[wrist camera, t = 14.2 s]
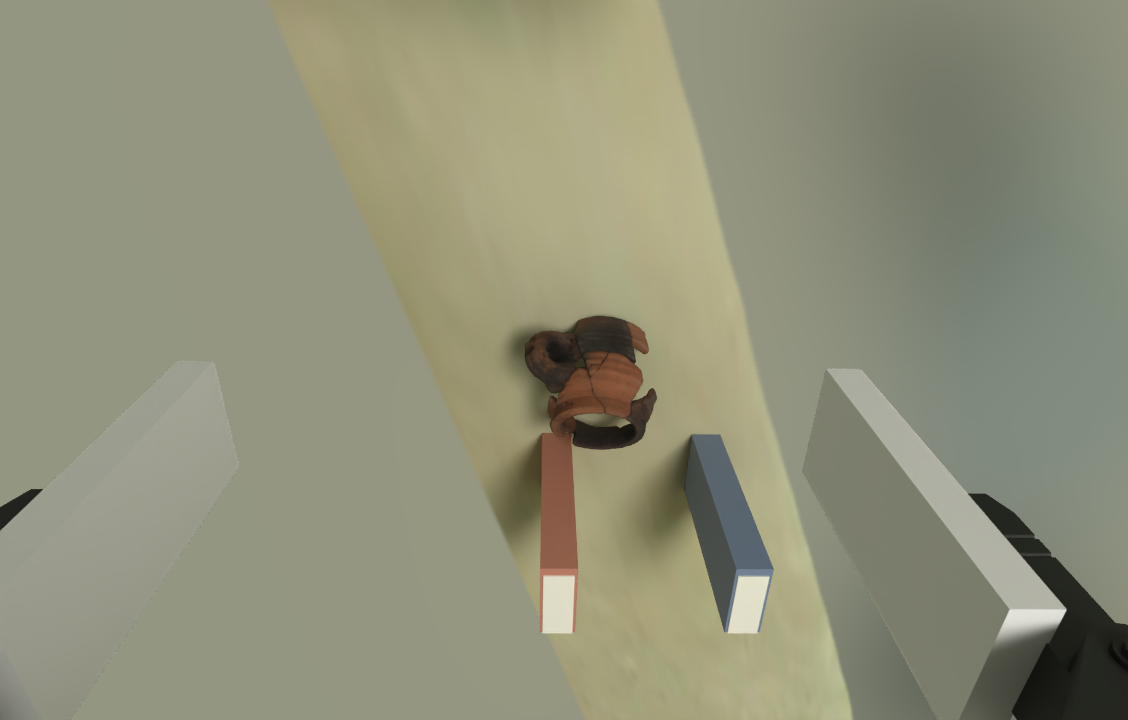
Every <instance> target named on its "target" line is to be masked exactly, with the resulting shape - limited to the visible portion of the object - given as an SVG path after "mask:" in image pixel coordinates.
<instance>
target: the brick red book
mask: <svg viewBox="0 0 1128 720" xmlns="http://www.w3.org/2000/svg"><path fill="white" fill-rule="evenodd" d="M577 581H578V558H577V540H576V521H575V502H574V484H573V465H572V446H571V433H565V436H564V437H560V438H559V437H557V436H556V435H555V434H554V433H542V480H541V555H540V632H542V633H572V632H575V624H576V602H577Z"/></svg>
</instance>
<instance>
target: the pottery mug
mask: <svg viewBox="0 0 1128 720" xmlns="http://www.w3.org/2000/svg"><path fill="white" fill-rule="evenodd" d="M633 348H636V349H637V350H639V351H640V352H642V353H643V354H647V353H648V351H649V348H648V344H647V340H646V338H645V333H644V332H643V331H642V330H641V329H640V328H639V327H637V326H636V325H634V324H632V323H630V322H626V321H625V320H621V319H617V318H614V317H604V316H596V317H592V318H586V319H582V320H580V321H579V322H578V324H577V328H576V329H575V332H574V334H571V333H569V332H566V333H560V332H556V331H543V332H540V333H538V334H535V335H534V336H533V337H532V338H531V340H530V341H529V342H528V343H526V345H525V361H526V364H527V367H528V368H529V370H530V371H531V373H532V374H533V375H534V376H535V377H537V378H539V379H540V380H541V381H543V382H544V383H545V384H546V387H547V389H548V390H549V391H550V392H551V393H558V392H559V395H558V399H556V398H555V397H554V396H550V398H549V402H548V412H549V415H550V418H551V419H552V420H551V422H550V427H551V430H552V432H553V433H554V434H555V435H556V436H557V437H559V438H560V437H564V436H565V432H566V431H568V432H570V433H573V434H574V438H573V444H574V445H575V446H578V447H582V448H588V449H599V450H600V449H601V450H605V449H612V448H613V449H616V448H623V447H625V446H630V445H632V444H634V443H637V442H638V441H639V440H641V439H642V437H643V436H644V433H645V428H646V423H647V422H648V420H649V419H650V416H651V414H652V411H653V407H654V403H655V402H656V399H657V396H656V392H655V390H654V389H653V388H651V389H650V390H649V391H648V393H647V395H646V396H644V397H643V398H641V399H638V400H634V401H632V399H633V398H634V397H635V396H636V393H637V392H638V390H639V389H640V386H641V385H642V383H643V378H642V372H641V370H640V369H639V368H638V367H637V366H636V365H635V362H636V360H635V354H634V349H633ZM547 351H548V352H549V356H548V354H547ZM580 357H583V359H584V361H585V366H586V367H578V368H576V364H575V363H576V362H577V361H578V359H580ZM587 413H605V414H609V415H614V416H617V417H621V418H623V419H626V420H627V421H629V422H630V423H632V424H628V425H625V426H623V427H621V428H619V427H617V426H611V427H594V426H591V425H588V424H586V423H583V422H580V421H578V420H575V419H574V417H573V416H575V415H580V414H587Z"/></svg>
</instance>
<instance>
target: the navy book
mask: <svg viewBox="0 0 1128 720" xmlns="http://www.w3.org/2000/svg"><path fill="white" fill-rule="evenodd" d="M684 490H685V493H686V497H687V500H688V504H689V508H690V511H691V515H692V518H693V522H694V525H695V529H696V532H697V536H698V540H699V543H700V547H701V550H702V554H703V557H704V561H705V565H706V568H707V572H708V575H709V579H710V582H711V586H712V589H713V593H714V597H715V600H716V604H717V607H718V611H719V614H720V618H721V622H722V625H723V629H724V632H727V633H757V632H760V627H761V623H762V618H763V614H764V610H765V605H766V601H767V596H768V592H769V588H770V583H771V579H772V574H773V570H774V569H773V566H772V564H771V561H770V559H769V556H768V554H767V551H766V549H765V546H764V544H763V541H762V539H761V536H760V534H759V531H758V529H757V526H756V524H755V521H754V519H753V516H752V514H751V511H750V509H749V506H748V504H747V501H746V499H745V496H744V494H743V491H742V489H741V486H740V484H739V481H738V479H737V476H736V474H735V471H734V469H733V466H732V464H731V461H730V459H729V456H728V454H727V451H726V449H725V446H724V444H723V441H722V439H721V436H720V435H692V436H691V443H690V451H689V458H688V466H687V473H686V481H685V488H684Z"/></svg>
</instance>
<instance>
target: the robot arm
mask: <svg viewBox="0 0 1128 720" xmlns="http://www.w3.org/2000/svg"><path fill="white" fill-rule="evenodd" d="M238 468H239V462H238V458H237V454H236V450H235V445H234V441H233V437H232V433H231V429H230V425H229V421H228V417H227V412H226V409H225V404H224V400H223V396H222V392H221V388H220V383H219V379H218V375H217V371H216V367H215V363H214V361H176V363H174V364H173V365H172V366H171V367H170V368H169V369H168V370H167V371H166V372H165V373H164V374H163V375H162V376H161V377H160V378H159V379H158V380H157V381H156V382H155V383H154V384H153V385H152V386H150V387H149V388H148V389H147V390H146V391H145V392H144V393H143V394H142V395H141V396H140V397H139V398H138V399H137V400H136V401H135V402H134V403H133V404H132V405H131V406H130V407H129V408H128V409H127V410H126V411H124V412H123V414H121V415H120V416H119V417H118V418H117V419H116V420H115V421H114V422H113V423H112V424H111V425H110V426H109V427H108V428H107V429H106V430H105V431H104V432H103V433H102V434H101V435H100V436H98V437H97V438H96V439H95V440H94V441H93V442H92V443H91V444H90V445H89V446H88V447H87V448H86V449H85V450H84V451H83V452H82V453H81V454H80V455H79V456H78V457H77V458H76V459H75V460H73V461H72V463H70V465H68V466H67V467H66V468H65V469H64V470H63V471H62V472H61V473H60V474H59V475H58V476H57V477H56V478H55V479H54V480H53V481H52V482H51V483H50V484H49V485H48V486H46V487H45V488H44V489H31V490H29V491H27V492H26V493H24V494H22V495H20V496H19V497H17V498H15V499H13V500H12V501H10V502H8V503H7V504H5V505H3V506H1V507H0V720H71V719H72V718H73V716H74V715H75V713H76V712H77V710H78V709H79V707H80V705H81V704H82V702H83V701H84V700H85V698H86V696H87V695H88V693H89V692H90V691H91V689H92V687H93V686H94V685H95V683H96V682H97V680H98V679H99V677H100V675H101V674H102V673H103V671H104V669H105V668H106V667H107V665H108V664H109V662H110V660H111V659H112V657H113V656H114V655H115V653H116V652H117V650H118V649H119V647H120V646H121V644H122V643H123V641H124V639H125V638H126V637H127V635H128V634H129V632H130V631H131V629H132V628H133V626H134V624H135V623H136V621H137V620H138V619H139V617H140V616H141V614H142V613H143V611H144V610H145V608H146V607H147V605H148V604H149V602H150V601H151V599H152V597H153V596H154V595H155V593H156V592H157V590H158V588H159V587H160V585H161V584H162V583H163V581H164V580H165V578H166V577H167V575H168V573H169V572H170V571H171V569H172V568H173V566H174V564H175V563H176V561H177V560H178V558H179V557H180V556H181V554H182V553H183V551H184V549H185V548H186V547H187V545H188V544H189V542H190V541H191V539H192V538H193V536H194V535H195V533H196V531H197V530H198V529H199V527H200V526H201V524H202V523H203V521H204V519H205V518H206V517H207V515H208V514H209V512H210V510H211V509H212V508H213V506H214V505H215V503H216V502H217V500H218V499H219V497H220V495H221V494H222V493H223V491H224V490H225V488H226V486H227V485H228V484H229V482H230V480H231V479H232V478H233V476H234V475H235V473H236V472H237V470H238ZM802 471H803V473H804V475H805V477H806V479H807V481H808V483H809V484H810V486H811V488H812V490H813V492H814V494H815V495H816V497H817V499H818V501H819V503H820V505H821V507H822V508H823V510H824V512H825V514H826V516H827V517H828V519H829V521H830V523H831V525H832V527H833V529H834V530H835V532H836V534H837V536H838V538H839V539H840V541H841V543H842V545H843V547H844V549H845V551H846V552H847V554H848V556H849V558H850V560H851V562H852V563H853V565H854V567H855V569H856V571H857V572H858V574H859V576H860V578H861V580H862V582H863V584H864V586H865V587H866V589H867V591H868V593H869V595H870V597H871V598H872V600H873V602H874V604H875V606H876V607H877V609H878V611H879V613H880V615H881V617H882V618H883V620H884V622H885V624H886V626H887V628H888V629H889V631H890V633H891V635H892V637H893V639H894V640H895V642H896V644H897V646H898V648H899V650H900V652H901V654H902V655H903V657H904V659H905V661H906V663H907V665H908V666H909V668H910V670H911V671H912V674H913V676H914V677H915V679H916V681H917V683H918V685H919V686H920V688H921V690H922V692H923V694H924V696H925V698H926V699H927V701H928V703H929V705H930V707H931V709H932V710H933V712H934V714H935V716H936V718H937V720H1010V719H1011V717H1012V715H1014V716H1015V718H1016V719H1017V720H1128V625H1126V624H1119V623H1115V622H1114V621H1113V620H1112V619H1111V618H1110V617H1109V616H1108V614H1107V613H1106V612H1105V611H1104V610H1103V609H1102V608H1101V607H1100V606H1099V605H1098V603H1096V601H1095V600H1094V599H1093V598H1092V597H1091V596H1090V595H1089V594H1088V593H1087V592H1086V590H1085V589H1084V588H1083V587H1082V586H1081V585H1080V584H1079V583H1078V582H1077V581H1076V579H1075V578H1074V577H1073V576H1072V575H1071V574H1070V573H1069V572H1068V571H1067V570H1066V569H1065V567H1064V566H1063V565H1062V564H1061V563H1060V562H1059V561H1058V560H1057V559H1056V558H1052V557H1051V552H1050V551H1049V550H1048V549H1047V548H1046V547H1045V546H1044V545H1043V543H1042V542H1040V540H1039V539H1035V538H1034V534H1033V533H1032V532H1031V530H1030V529H1029V528H1028V527H1027V526H1026V525H1025V524H1024V523H1023V522H1022V521H1021V520H1020V518H1019V517H1018V516H1017V515H1016V514H1015V513H1014V512H1012V511H1011V510H1009V509H1008V508H1006V507H1005V506H1003V505H1002V504H1000V503H999V502H997V501H996V500H994V499H993V498H991V497H990V496H988V495H987V494H967V493H966V491H965V490H964V489H963V488H962V487H961V486H960V484H959V483H958V482H957V481H956V480H955V478H954V477H953V476H952V475H951V474H950V473H949V471H947V469H946V468H945V467H944V466H943V464H942V463H941V462H940V461H939V460H938V459H937V457H936V456H935V455H934V454H933V453H932V452H931V450H930V449H928V447H927V446H926V445H925V443H924V442H923V441H922V440H921V439H920V438H919V437H918V436H917V434H916V433H915V432H914V431H913V429H911V427H910V426H909V425H908V424H907V422H906V421H905V420H904V419H903V418H902V417H901V416H900V414H899V413H898V412H897V411H896V410H895V408H894V407H893V406H892V405H891V404H890V403H889V401H888V400H887V399H886V398H885V397H884V396H883V394H881V392H880V391H879V390H878V389H877V388H876V386H875V385H874V384H873V383H872V382H871V381H870V379H869V378H868V377H867V376H866V375H865V374H864V372H863V371H862V370H861V369H826V371H825V376H824V380H823V384H822V388H821V393H820V397H819V401H818V405H817V410H816V414H815V418H814V423H813V427H812V432H811V436H810V440H809V444H808V449H807V453H806V457H805V462H804V466H803V470H802Z"/></svg>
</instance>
